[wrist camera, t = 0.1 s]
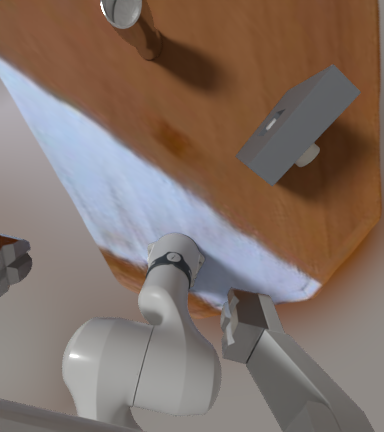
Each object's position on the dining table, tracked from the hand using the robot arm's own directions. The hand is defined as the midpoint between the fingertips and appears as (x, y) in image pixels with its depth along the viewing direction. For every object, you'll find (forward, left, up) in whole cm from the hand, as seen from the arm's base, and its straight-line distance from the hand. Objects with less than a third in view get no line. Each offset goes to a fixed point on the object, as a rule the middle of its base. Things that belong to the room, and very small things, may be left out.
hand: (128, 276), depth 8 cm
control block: (+9, -16, -48) cm, 51 cm away
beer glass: (+21, +16, -48) cm, 55 cm away
